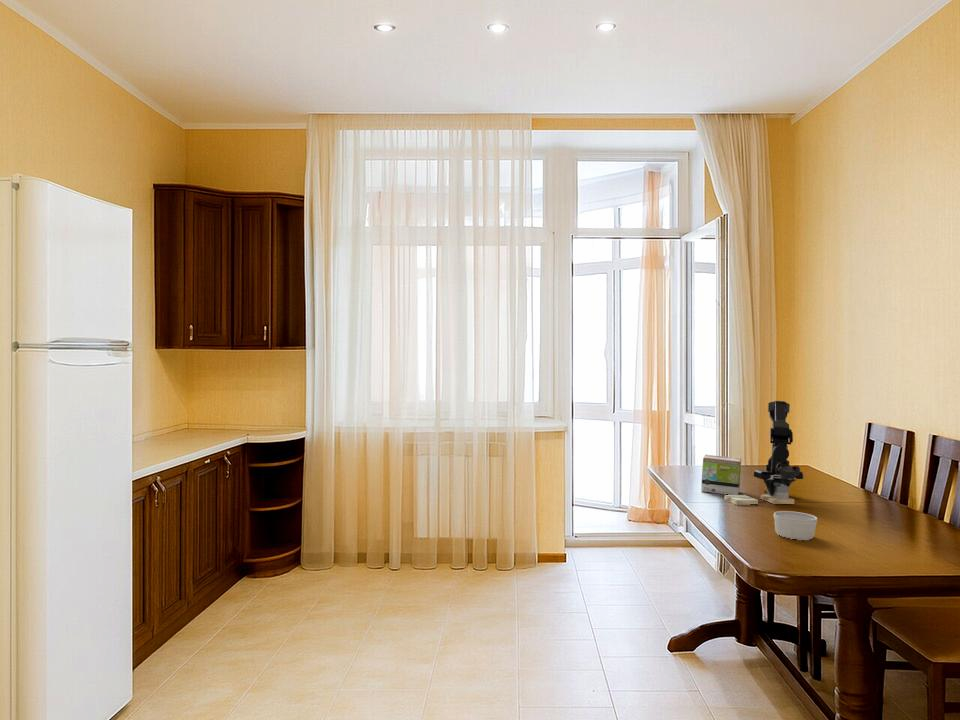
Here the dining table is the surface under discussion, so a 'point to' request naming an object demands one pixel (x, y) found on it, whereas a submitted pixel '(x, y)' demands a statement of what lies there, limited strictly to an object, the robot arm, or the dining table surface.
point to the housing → (779, 491)
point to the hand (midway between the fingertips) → (777, 495)
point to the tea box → (721, 474)
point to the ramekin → (795, 525)
